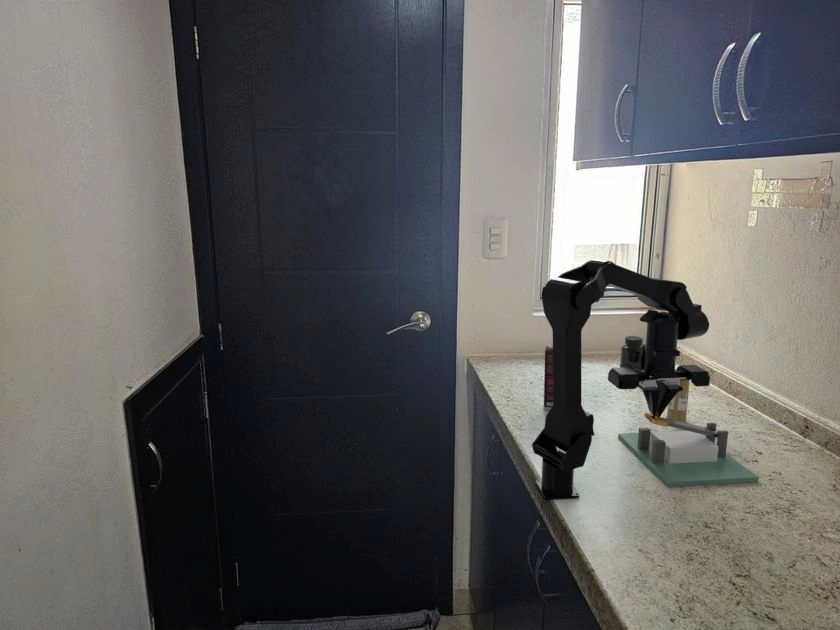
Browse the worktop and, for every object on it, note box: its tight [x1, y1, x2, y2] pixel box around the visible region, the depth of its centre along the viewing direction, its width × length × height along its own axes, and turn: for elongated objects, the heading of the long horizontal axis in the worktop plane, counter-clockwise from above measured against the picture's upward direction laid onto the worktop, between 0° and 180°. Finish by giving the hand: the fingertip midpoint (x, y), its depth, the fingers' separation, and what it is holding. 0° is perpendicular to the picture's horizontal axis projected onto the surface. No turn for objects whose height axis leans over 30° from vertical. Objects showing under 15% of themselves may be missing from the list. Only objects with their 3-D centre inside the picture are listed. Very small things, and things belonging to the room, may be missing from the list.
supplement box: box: [543, 345, 553, 411], centre depth 145 cm, size 9×5×16 cm, turn 74°
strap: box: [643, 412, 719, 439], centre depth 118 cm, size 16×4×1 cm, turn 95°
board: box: [617, 422, 760, 488], centre depth 118 cm, size 22×18×6 cm
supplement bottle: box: [619, 335, 644, 372], centre depth 169 cm, size 7×7×12 cm
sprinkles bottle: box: [665, 364, 690, 423], centre depth 137 cm, size 5×5×14 cm
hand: (655, 416), depth 117 cm, fingers closed
